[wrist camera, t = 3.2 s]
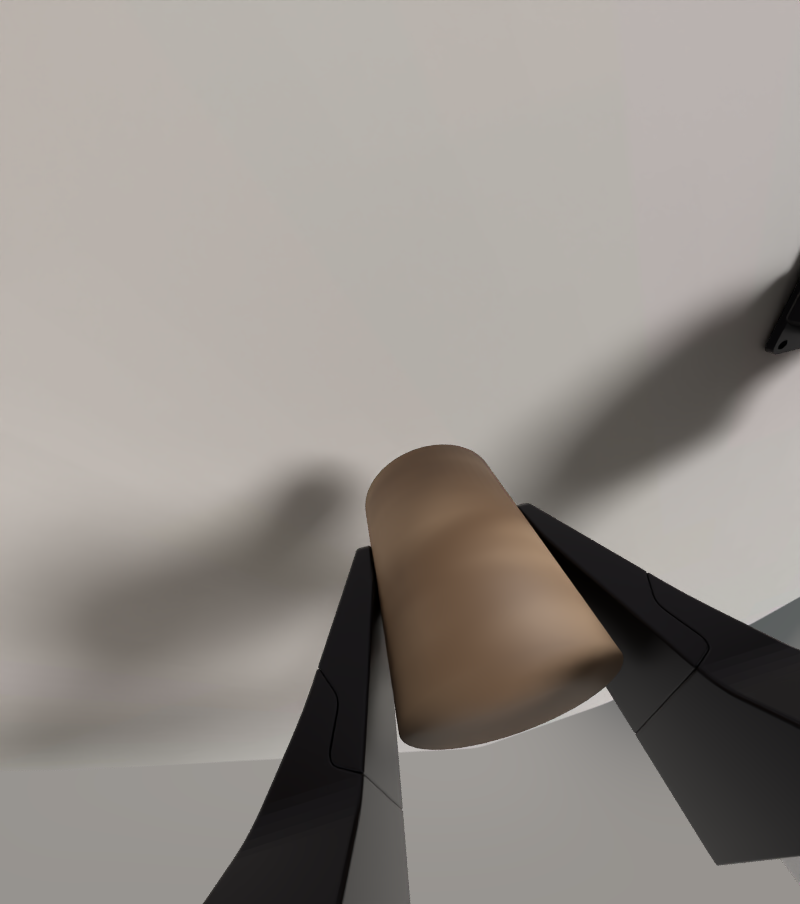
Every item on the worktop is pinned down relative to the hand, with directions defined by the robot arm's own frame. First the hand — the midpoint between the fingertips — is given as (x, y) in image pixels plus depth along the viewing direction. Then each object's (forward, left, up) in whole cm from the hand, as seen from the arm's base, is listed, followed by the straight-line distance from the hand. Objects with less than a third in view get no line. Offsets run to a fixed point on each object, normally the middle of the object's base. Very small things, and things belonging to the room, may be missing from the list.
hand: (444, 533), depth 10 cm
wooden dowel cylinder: (0, 0, -2) cm, 2 cm away
